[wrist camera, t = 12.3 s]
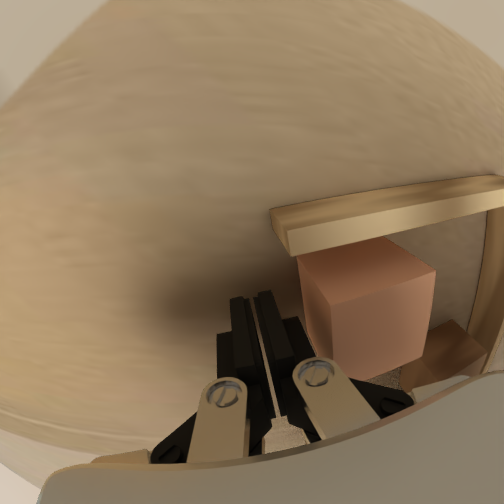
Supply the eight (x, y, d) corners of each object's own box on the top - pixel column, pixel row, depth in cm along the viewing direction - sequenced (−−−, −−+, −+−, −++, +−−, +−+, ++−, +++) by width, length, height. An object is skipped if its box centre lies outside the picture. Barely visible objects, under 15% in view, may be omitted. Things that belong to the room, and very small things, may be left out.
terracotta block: (380, 234, 12) (436, 270, 8) (380, 308, 13) (421, 356, 9) (296, 255, 11) (330, 305, 8) (306, 331, 13) (334, 391, 9)
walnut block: (451, 318, 14) (487, 352, 11) (441, 360, 16) (469, 393, 12) (405, 341, 14) (439, 383, 11) (398, 382, 16) (424, 422, 12)
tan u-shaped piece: (494, 174, 11) (531, 184, 8) (459, 368, 17) (478, 390, 14) (269, 209, 11) (286, 230, 8) (303, 433, 16) (313, 467, 13)
